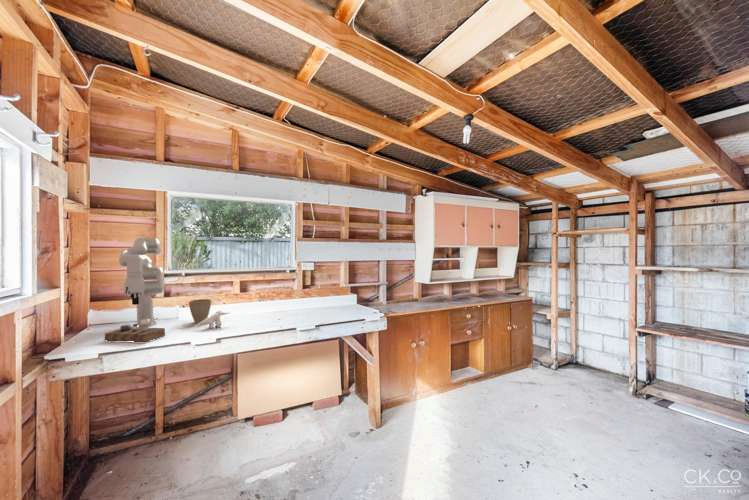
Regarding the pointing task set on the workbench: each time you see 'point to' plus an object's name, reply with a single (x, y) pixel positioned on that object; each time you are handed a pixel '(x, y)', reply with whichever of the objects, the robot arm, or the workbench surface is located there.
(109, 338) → the mount
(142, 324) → the ivory knob
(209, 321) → the white dinosaur figurine
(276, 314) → the workbench surface
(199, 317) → the plant pot
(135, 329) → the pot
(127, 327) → the black knob
